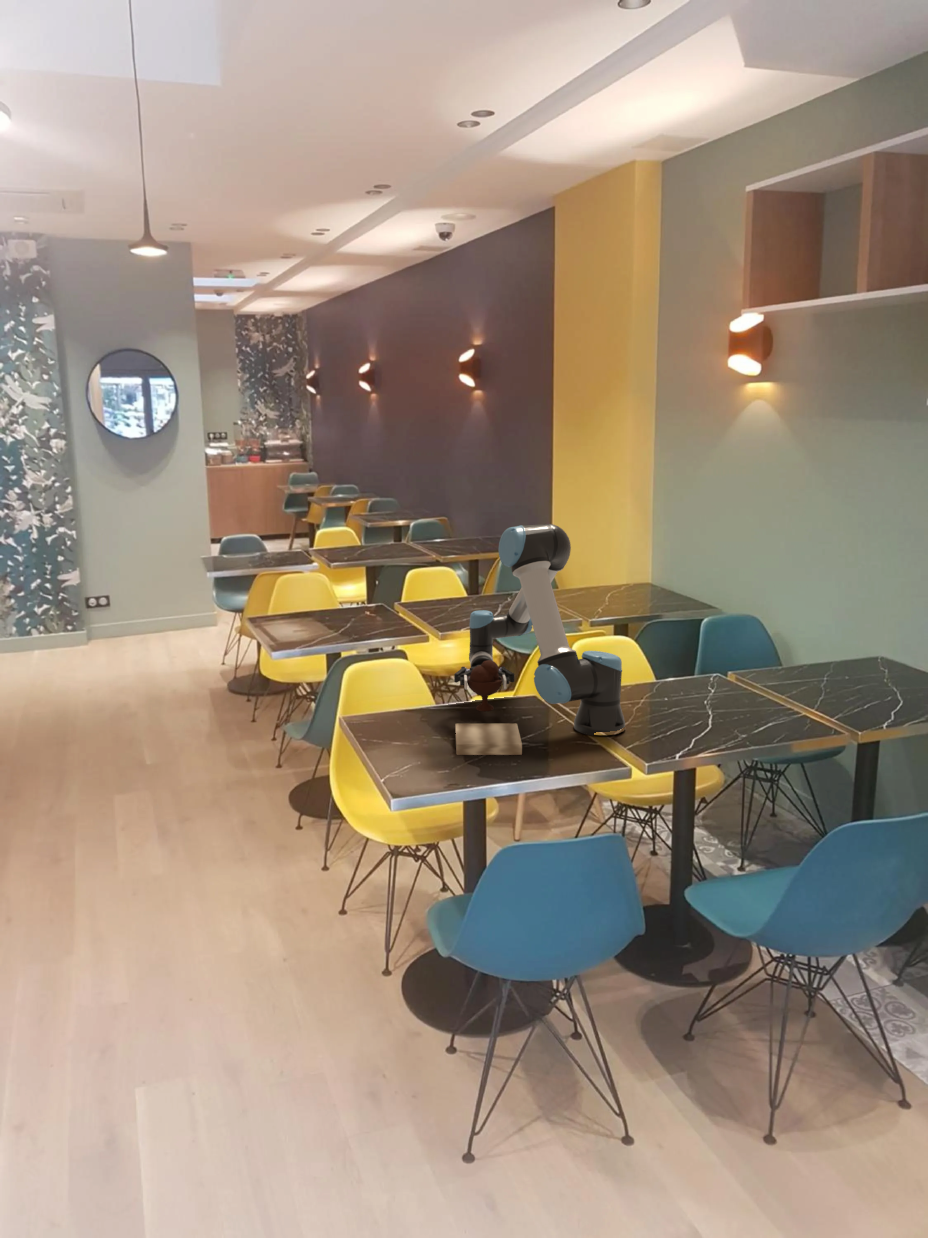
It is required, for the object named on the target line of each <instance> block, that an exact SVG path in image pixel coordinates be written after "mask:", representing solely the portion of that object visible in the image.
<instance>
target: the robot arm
mask: <svg viewBox="0 0 928 1238" xmlns="http://www.w3.org/2000/svg"><path fill="white" fill-rule="evenodd" d="M571 548H572V546H571V540H570V537H569V536H568V534H567V532H566V531H565V530H564V529H563V528H561V527H560V526H558V525H555V524H553V523H544V524H532V525H530V524H529V525H522V524H520V525H516V526H511V527H508V528H506V529H505V530H504V531H503V532H502V534H501V537H500V538H499V542H498V556H499V560H500V562H501V564H503V566H504V567H507V568H510V570H511V572H512V575H513V577H515V578H517V579H518V580H519V583H520V586H521V588H520V589H519V592H518V593H517V595H516V597H515V599H514V600H513V602H512V604H511V606H510V608H509V609H508V610H507V612H506V614H498V615H494V614H493V612H492V611H491V610H485V609H484V610H483V609H481V610H474V611H472V612H471V613H470V615H469V654H468V660H469V663H470V667H469V668H467V667H465V666H461V667H460V669H459V670H457V671H456V672H455V673H454V674H453V675H454V676H453V677H454V679H453V680H454V681H453V682H454V683H459V682H460V684H459V685H460V686H464V690H468V683H467V677H468V676H470V675H471V674H470V673H471V671H472V670H473V669H474V668H475V667H477V666H478V665H480V666H481V664H482V663H483V662H484V661H487V660H491V661H494V657H493V656H494V655H493V646H494V640H495V639H501V638H509V637H520V636H523V635H527V634H530V633H531V632H532V629H533V632H534V636H535V639H536V643H537V648H538V650H539V654H540V656H539V658H538V660H537V661H536V662H537V667H536V669H535V670H534V674H533V675H534V677H533V682H534V686H535V689H536V691H537V693H538V695H539V697H541V699H542V700H544V701H545V702H546V703H548V704H552V705H557V704H566V703H568V702H575V701H580V704H579V706H578V709H577V712H576V714H575V717H574V721H573V729H574V730H575V731H577V732H578V733H580V734H583V735H586V736H593V735H594V733H596V732H610V731H617V730H620V729H622V728H624V727H625V728H626V721H625V716H624V712H623V710H622V707H621V695H622V694H621V693H622V691H621V689H622V674H623V673H622V672H623V668H622V658H620V656H618V655H616V654H614V653H610V652H606V651H605V652H604V651H600V650H599V651H598V650H586V651H585V650H584V651H583V652H582V653H581V654H582V655H581V658H579V657H578V654H577V650H575V649H573V648H571V647H570V645H569V642H568V638H567V635H566V631H565V628H564V624H563V621H562V617H561V613H560V609H559V607H558V604H557V600H556V596H555V593H554V590H553V586H552V582H553V581H554V579H555V577H556V576H557V573H558V572H561V571H562V570H564V568H565V567H566V566H567V563H568V561H569V558H570V555H571V550H572V549H571ZM498 674H499V676H501V677H503V680H502V687H503V690H507V685H510V683H514V682H515V673H514V672H512V671H510V670H509V669H507V668H506V667H505V666H501V667H499V672H498ZM593 737H594V736H593Z"/></svg>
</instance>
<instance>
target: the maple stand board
mask: <svg viewBox="0 0 928 1238" xmlns="http://www.w3.org/2000/svg"><path fill="white" fill-rule="evenodd" d="M454 733H456V734H455V748H456V749H455V750H456V755H457V756H473V755H474V756H477V755H478V756H481V755H482V756H483V755H484V756H489V755H491V756H494V755H496V756H503V755H504V756H509V755H511V756H513V755H514V756H515V755H516V756H517V755H520V756H522V754H523V743H522V739H521V734H520V730H519V726H518V723H514V722H513V723H512V722H511V723H509V722H507V723H501V722H499V723H455V732H454Z"/></svg>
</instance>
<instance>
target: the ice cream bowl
mask: <svg viewBox="0 0 928 1238" xmlns="http://www.w3.org/2000/svg"><path fill="white" fill-rule="evenodd" d="M499 669H500V667H499V666H498V663H497V662H495V661H494V660H493V661H491V660H487V661H484V662H483V663H482V664H481V666H480V665H478V666H477V667H475V668H474V669H473V670H472V671H471V673H470V674H471V675H470V676H468V677H467V687H468V688H469V689H470V690H471V691H472V692H473V693H474V694H476V695H478V696H481V703H479V704H477V705H476V708H475V710H477V711H479V712H491V711H493V710H494V705H492V704H490V703H489V701H488V698H489V696H491V695H494V694H495V693H497V692H498V691H499V690H500V689H501V688H502V686H503V683H502V680H503V677H501V676H499V674H498V672H499Z"/></svg>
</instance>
